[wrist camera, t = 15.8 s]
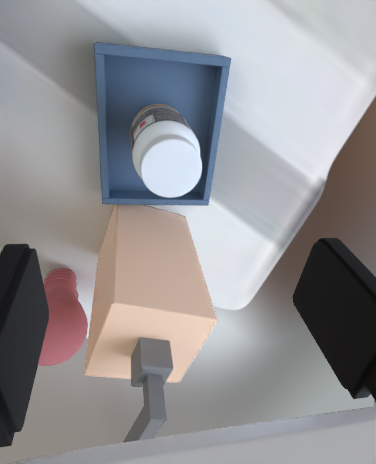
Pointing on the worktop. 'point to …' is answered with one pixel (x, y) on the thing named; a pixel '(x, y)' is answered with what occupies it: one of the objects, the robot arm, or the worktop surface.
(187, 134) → the pill bottle
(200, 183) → the tray
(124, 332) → the soap dispenser
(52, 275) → the light bulb
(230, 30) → the worktop surface
